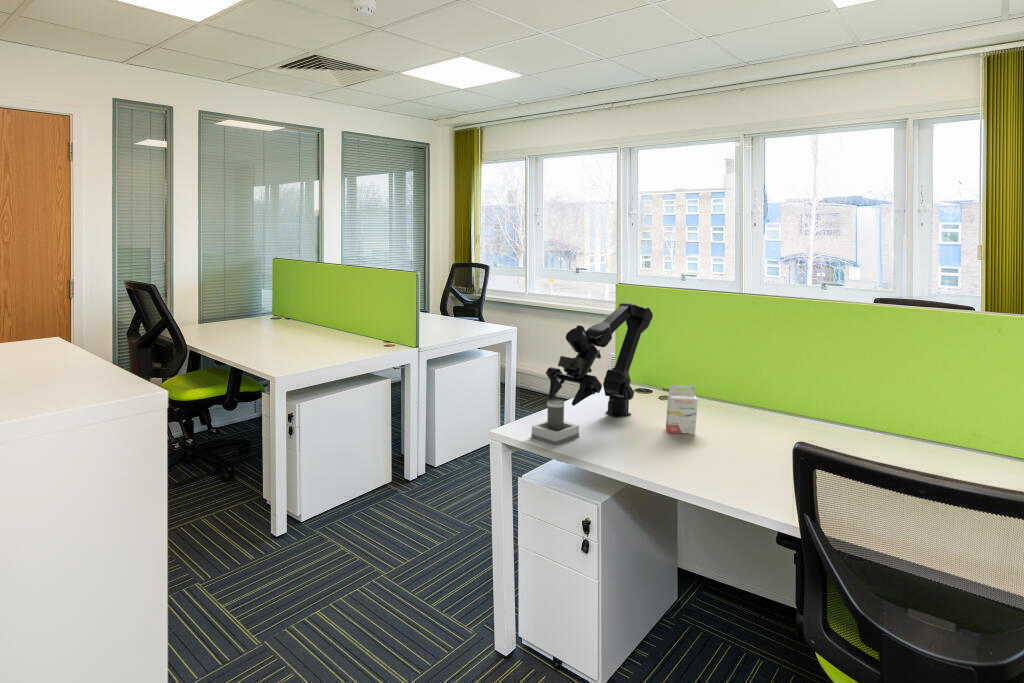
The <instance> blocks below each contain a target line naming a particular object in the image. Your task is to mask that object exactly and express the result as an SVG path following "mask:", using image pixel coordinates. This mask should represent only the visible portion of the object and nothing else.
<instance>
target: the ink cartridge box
mask: <svg viewBox="0 0 1024 683" xmlns="http://www.w3.org/2000/svg"><path fill="white" fill-rule="evenodd" d="M668 387H669V389H668V394H667V405H666V406H667V407H666V420H665V421H666V422H665V429H666V431H667V433H668V434H676V433H689V434H688V435H696V428H697V427H696V426H697V416H698V415H697V414H698V402H699V401H698V400H699V399H698V397H697V396H696V395H695V391H696V386H695V385H687V384H685V385H684V384H669V386H668ZM679 389H683V390H679ZM692 433H693V434H692Z"/></svg>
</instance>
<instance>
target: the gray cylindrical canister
mask: <svg viewBox="0 0 1024 683" xmlns="http://www.w3.org/2000/svg"><path fill="white" fill-rule="evenodd" d="M546 403H547V404H546V405H547V429H550V430H553V431H557V432H558V431H561V430H563V429H564V421H565V401H564V400H560V399H551V400H547V402H546Z"/></svg>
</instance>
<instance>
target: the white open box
mask: <svg viewBox="0 0 1024 683" xmlns="http://www.w3.org/2000/svg"><path fill="white" fill-rule="evenodd" d="M531 436H532V437H531ZM530 437H531V438H533V437H535V438H534V439H536V438H538V439H537V440H539V439H541V440H540V441H542V440H544V441H543V442H545V441H547V442H546V443H548V442H550V443H549V444H552V445H555V446H557V445H560V444H563V443H565V442H568V441H571V440H574V439H577V438H579V437H580V425H578V424H575V423H571V422H568V421H565V420H564V429H563V430H561V431H558V432H557V431H553V430H550V429H547V421H544V422H541V423H537V424H534V425H532V426H531V434H530Z"/></svg>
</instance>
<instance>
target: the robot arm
mask: <svg viewBox="0 0 1024 683" xmlns="http://www.w3.org/2000/svg"><path fill="white" fill-rule="evenodd" d="M653 316H654V314H653V312H652V310H651V308H650V307H646V306H645V307H644V306H639V305H637V304H634V303H630V302H621V303H619V304H618V307H616V309H615V310H614V311H613V312H612V313H610V314H609V315H608V316H607V317H606V318H604V319H603V321H602V322H599V323H596V324H593V325H592V326H590V327H588V328H587V329H585V326H583V325H576V327H575V328H572V329H570V330H569V331H568V332H567V333H566V334H565V340H566V342H567V343H568V344H569V345H570V347H571V349H572V350H573V351H574V352H575V353H577V354H576V356H575V357H569V356H563V355H560V357H559V360H558V364H557V366H558V367H561V368H563V371H564V372H565V373H563V372H562V370H561V369H560V368H558V367H554V366H553V367H552V366H550V367H548V368H547V370H546V371H545V375H547V378H548V379H549V381H550V384H549V392H548V397H547V398H548V399H549V400H553V398H554V397H555V396H556V395H557V394H558V393H559V391H560V390H561V389H562V387H563V384H564V383H565V381H566V382H572V383H575V384H579V388H578V389H577V392H576V394H575V396H574V397H573V399H572V402H571V406H573V407H574V406H576V405H577V404H579V403H580V402H582V401H583V400H585V399H586V398H589V397H590V396H593V395H595V394H596V393H597V394H599V393H600V392H601V390H604V395H605V397H608V402H607V410H606V411H605V414H608V415H610V416H613V417H615V418H623V417H627V416H628V417H629V416H632V413H631V412H629V407H630V401H631V400H632V399H634V395H635V390H634V389H633V388H632V387H631V381H632V380H631V376H630V369H631V366H632V362H633V359H634V357H635V353H636V351H637V347H638V344H639V341H640V338H641V336H642V333H643V332H645V331H646V330H647V329H648V328H649V326H650V325H651V321H652V320H653ZM624 323H625V324H626V327H627V329H626V332H625V335H624V338H623V341H622V344H621V347H620V350H619V354H618V356H617V359H616V363H615V365H614V367H613V368H612V369H607V370H606V372H605V373H606V374H605V377H604V378H603V384H602V383H601V381H600V380H599V379H598V377H597V376H596V375H591V374H588V373H592V371H593V369H592V366H593V364H594V362H595V361H596V359H601V358H602V357H601V356H602V354H601V352H600V349H598V348H597V347H599V348H605V347H607V346H608V345H609V343H610V342H611V341H612V339H613V334H614V332H616V331H617V330H618V328H619V327H620V326H622V325H623V324H624ZM602 388H603V389H602ZM549 400H548V401H549Z"/></svg>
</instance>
